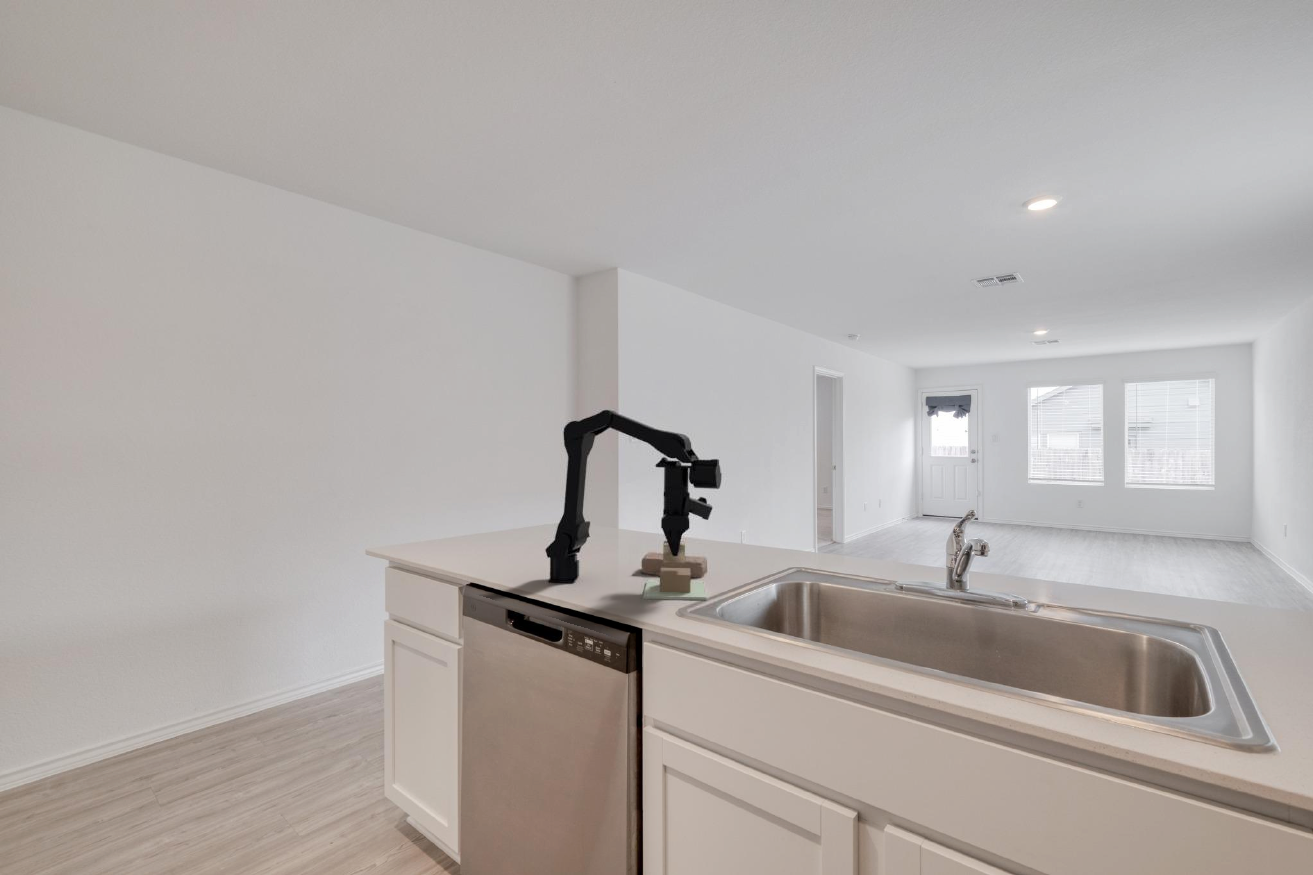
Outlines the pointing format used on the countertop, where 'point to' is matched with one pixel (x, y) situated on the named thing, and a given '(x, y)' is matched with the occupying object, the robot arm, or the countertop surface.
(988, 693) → the countertop surface
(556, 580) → the robot arm
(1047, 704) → the countertop surface
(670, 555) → the maple block
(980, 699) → the countertop surface
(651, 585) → the baseplate
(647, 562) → the brick
